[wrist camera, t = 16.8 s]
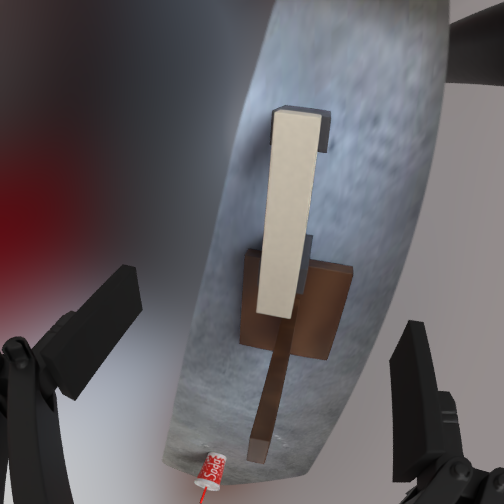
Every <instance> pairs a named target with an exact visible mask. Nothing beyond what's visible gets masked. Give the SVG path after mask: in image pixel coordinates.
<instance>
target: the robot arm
mask: <svg viewBox="0 0 504 504" xmlns="http://www.w3.org/2000/svg"><path fill="white" fill-rule="evenodd" d="M141 311H142V304H141V298H140V292H139V286H138V280H137V275H136V268H135V267H132V266H128V265H122V266H121V267H120V268H119V269H118V270H117V271H116V272H115V273H114V274H113V275H112V276H111V277H110V278H109V279H108V280H107V281H106V282H105V283H104V284H103V285H102V286H101V287H100V288H99V289H98V290H97V291H96V292H95V293H94V294H93V295H92V296H91V297H90V298H89V299H88V300H87V301H86V302H85V303H84V304H83V306H82V307H80V309H79V310H78V311H77V312H74V311H70V312H68V313H66V314H65V315H63V316H62V317H61V318H60V319H59V320H58V321H57V322H56V324H55V325H53V326H52V328H50V331H48V332H47V333H46V334H45V335H44V336H43V337H42V338H41V339H40V340H39V341H38V343H37V344H36V345H35V346H34V347H33V348H32V349H31V348H30V346H29V344H28V342H27V341H26V339H25V338H23V337H13V338H10V339H9V340H8V341H6V342H5V344H4V345H3V347H2V351H3V353H4V354H1V352H0V504H3V502H4V491H5V481H6V473H7V465H8V458H9V470H10V480H11V488H12V496H13V502H14V504H74V502H73V498H72V494H71V489H70V485H69V480H68V475H67V470H66V465H65V459H64V454H63V447H62V441H61V434H60V426H59V418H58V408H57V397H56V393H55V389H56V388H57V387H59V389H60V391H61V392H62V394H63V395H65V396H67V397H69V398H71V399H73V400H74V401H75V400H76V399H77V398H78V396H79V395H80V393H81V392H82V391H83V389H84V388H85V387H86V385H87V384H88V382H89V381H90V380H91V378H92V377H93V375H94V374H95V372H96V371H97V370H98V368H99V367H100V366H101V364H102V363H103V362H104V360H105V359H106V358H107V356H108V355H109V353H110V352H111V351H112V349H113V348H114V347H115V345H116V344H117V343H118V341H119V340H120V339H121V337H122V336H123V335H124V333H125V332H126V330H127V329H128V328H129V327H130V325H131V324H132V323H133V322H134V320H135V319H136V318H137V316H138V315H139V314H140V312H141ZM389 363H390V376H391V391H392V413H393V482H411V481H412V480H414V479H415V478H416V477H417V485H416V486H415V487H413V488H412V489H411V490H410V491H408V492H407V493H406V494H407V496H406V497H405V498H404V499H403V500H402V501H401V503H400V504H504V468H501V467H499V468H496V469H494V470H493V471H492V472H490V473H489V472H486V471H482V470H479V469H475V468H473V467H472V465H471V462H470V461H469V460H468V459H467V458H465V457H464V455H463V450H462V442H461V435H460V428H459V424H458V416H457V410H456V404H455V401H454V399H453V397H452V396H451V394H450V392H446V391H438V388H437V383H436V377H435V372H434V367H433V362H432V357H431V352H430V348H429V343H428V339H427V335H426V330H425V326H424V322H419V321H412V320H409V321H408V323H407V325H406V327H405V330H404V332H403V334H402V336H401V338H400V341H399V342H398V344H397V347H396V349H395V350H394V353H393V354H392V357H391V358H390V360H389Z"/></svg>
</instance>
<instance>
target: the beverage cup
mask: <svg viewBox="0 0 504 504" xmlns="http://www.w3.org/2000/svg"><path fill="white" fill-rule="evenodd" d="M225 462H226V457H225V456H224V455H222V454H219V453H216V452H209V453H208V455H207V458H206V460H205V462H204V464H203V466H202V468H201V471H200V473H199V475H198V477H197V479H196V480H195V481H194V483H195V484H196V485H198V486H200V487H202V488H204V492H203V495H202V498H201V500H200V504H202V501H203V498H204V495H205V492H206V490H212V491H218V490H220V482H221V478H222V474H223V470H224V466H225Z"/></svg>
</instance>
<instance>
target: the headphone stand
mask: <svg viewBox="0 0 504 504" xmlns="http://www.w3.org/2000/svg"><path fill="white" fill-rule="evenodd" d="M261 256H262V251H260V250H254V249H248V250H247V252H246V254H245V259H244V275H243V291H242V307H241V324H240V341H239V344H242V345H246V346H251V347H256V348H261V349H266V350H271V351H273V354H272V358H271V361H270V365H269V369H268V373H267V377H266V381H265V384H264V388H263V392H262V395H261V399H260V403H259V406H258V410H257V414H256V417H255V421H254V424H253V428H252V431H251V435H250V440H249V447H248V453H247V461H250V462H255V463H260V464H264V463H265V460H266V456H267V453H268V449H269V445H270V442H271V438H272V434H273V429H274V425H275V421H276V416H277V412H278V407H279V403H280V398H281V394H282V389H283V385H284V380H285V375H286V370H287V366H288V361H289V356H290V354H292V355H297V356H303V357H309V358H315V359H321V360H327V359H328V356H329V353H330V350H331V347H332V344H333V341H334V338H335V335H336V331H337V328H338V325H339V322H340V319H341V315H342V312H343V309H344V305H345V302H346V299H347V295H348V292H349V288H350V284H351V281H352V277H353V267H352V266H347V265H341V264H335V263H329V262H324V261H318V260H312V259H309V266H308V272H307V277H306V282H305V288H304V293H303V294H297V293H296V294H295V299H294V305H293V309H292V314H291V318H290V319H288V318H282V317H277V316H272V315H267V314H262V313H257V312H256V309H257V298H258V288H259V286H257V281H258V270H259V261H260V259H261Z"/></svg>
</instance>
